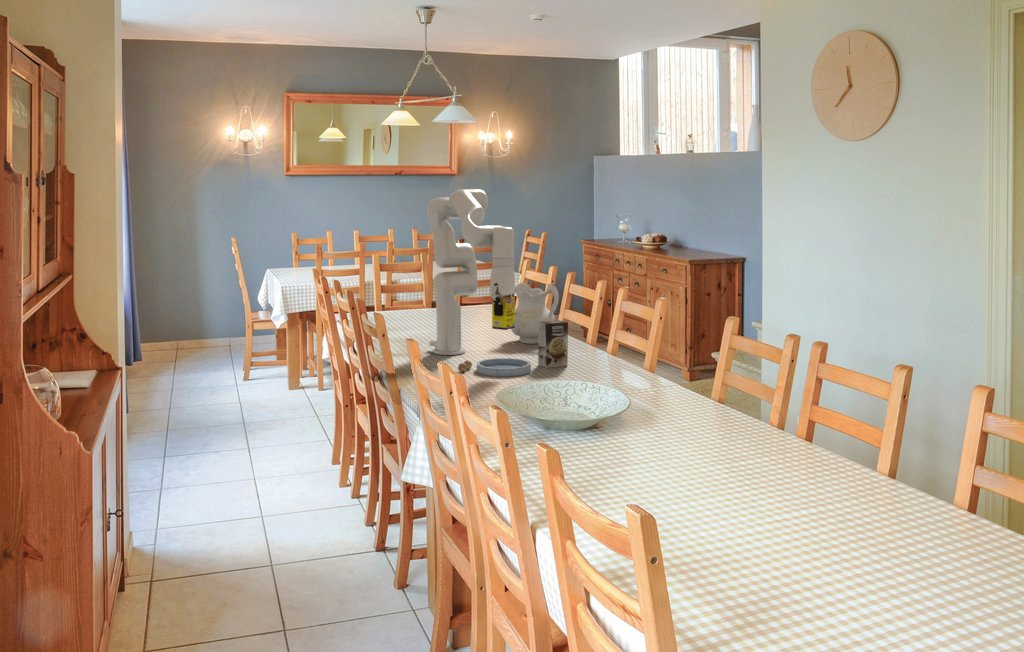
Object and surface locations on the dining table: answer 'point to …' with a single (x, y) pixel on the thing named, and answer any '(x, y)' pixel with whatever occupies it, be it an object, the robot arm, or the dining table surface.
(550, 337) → the coffee box
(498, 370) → the tray
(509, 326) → the supplement box
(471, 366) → the bead
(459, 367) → the bead
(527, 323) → the ceramic pitcher
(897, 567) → the dining table surface
